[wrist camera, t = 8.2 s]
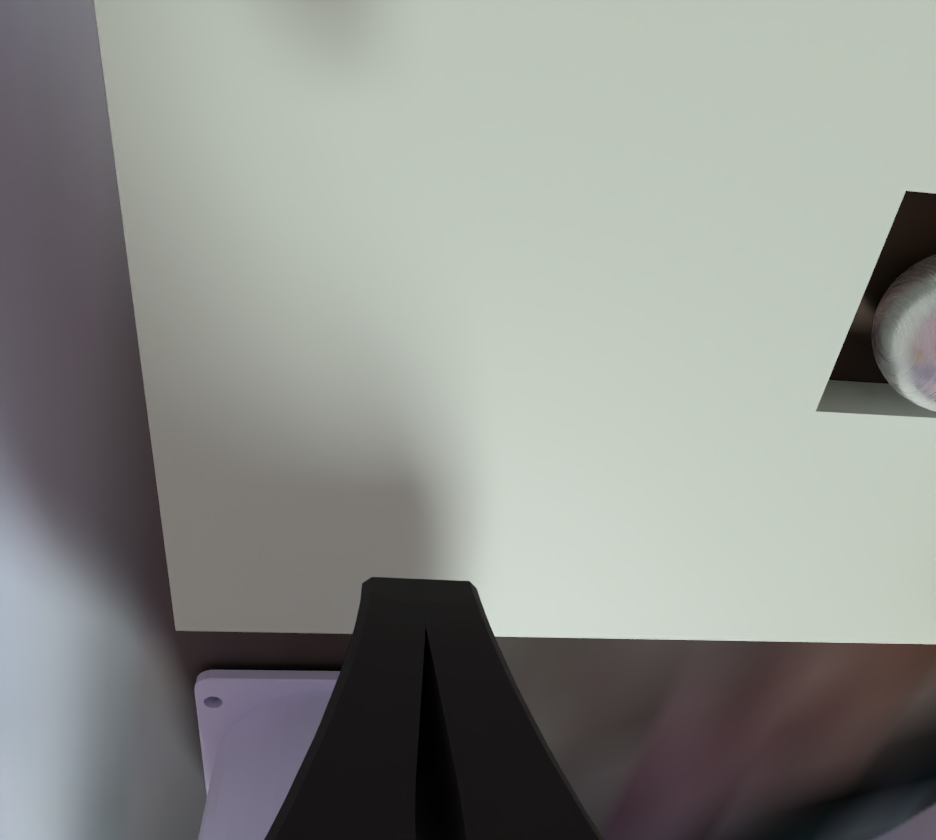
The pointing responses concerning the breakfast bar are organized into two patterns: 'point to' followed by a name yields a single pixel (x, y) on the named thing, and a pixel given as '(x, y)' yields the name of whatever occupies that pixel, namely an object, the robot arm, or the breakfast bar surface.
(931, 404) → the steel ball
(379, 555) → the hole plate
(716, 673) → the breakfast bar surface
